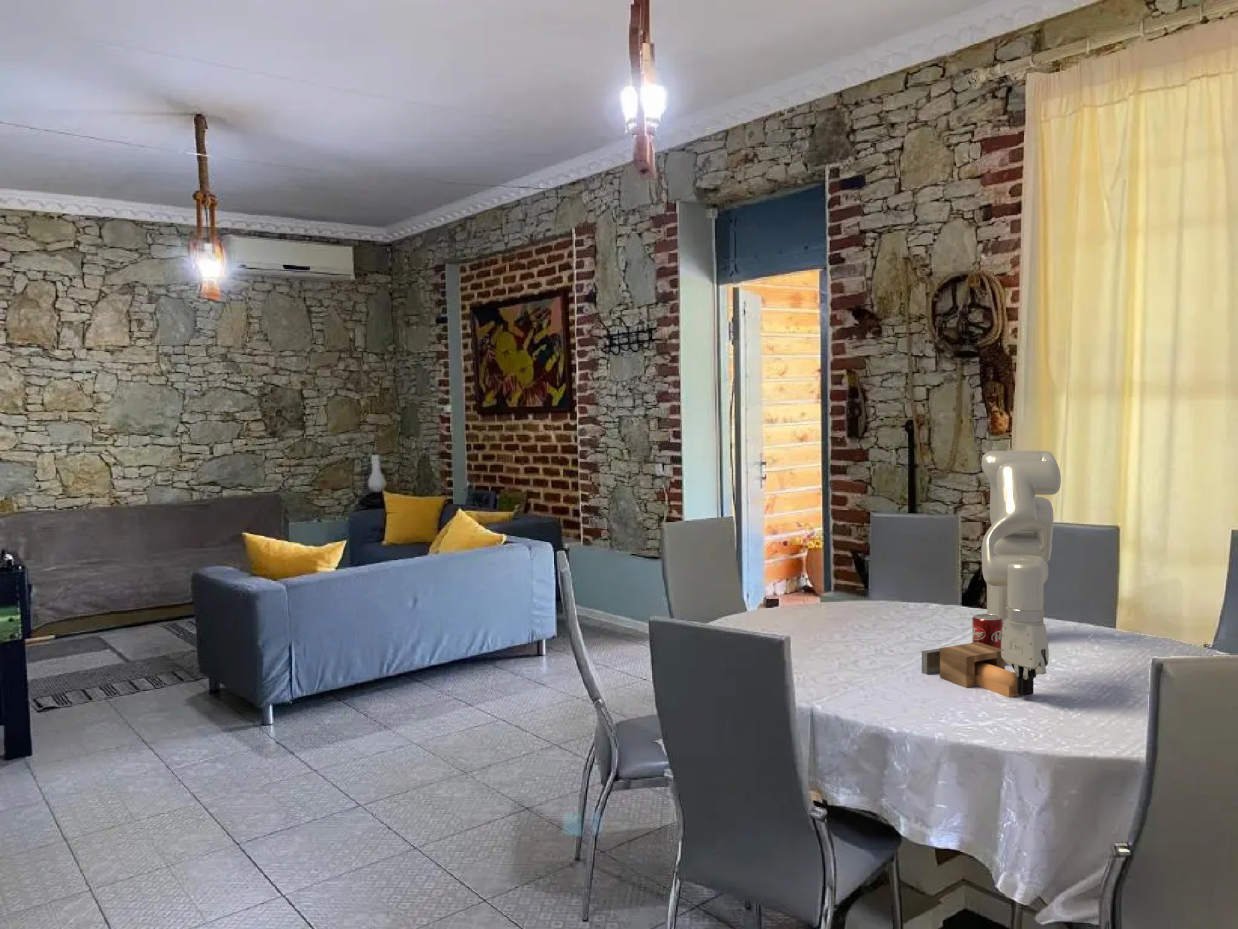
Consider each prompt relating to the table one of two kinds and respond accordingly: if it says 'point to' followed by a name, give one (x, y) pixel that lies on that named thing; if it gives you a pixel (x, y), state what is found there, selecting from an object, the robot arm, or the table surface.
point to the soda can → (987, 629)
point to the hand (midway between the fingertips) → (1025, 694)
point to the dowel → (996, 679)
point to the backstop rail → (931, 661)
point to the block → (967, 662)
